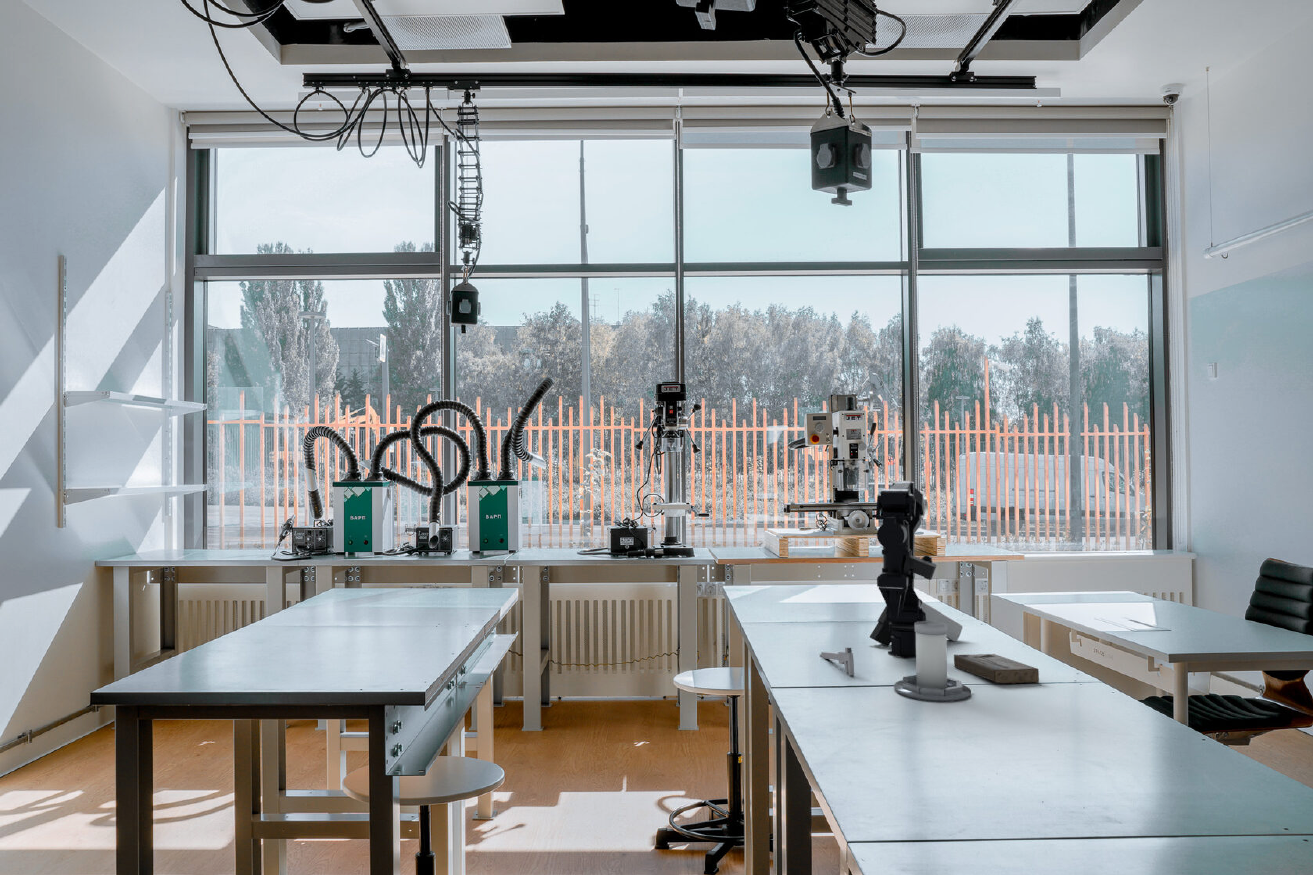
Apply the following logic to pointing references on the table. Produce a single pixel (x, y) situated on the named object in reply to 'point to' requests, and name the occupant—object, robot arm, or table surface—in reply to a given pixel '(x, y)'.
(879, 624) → the handheld device
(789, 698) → the table surface
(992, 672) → the box
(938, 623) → the capped white cylinder
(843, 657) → the caliper
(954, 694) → the collar
